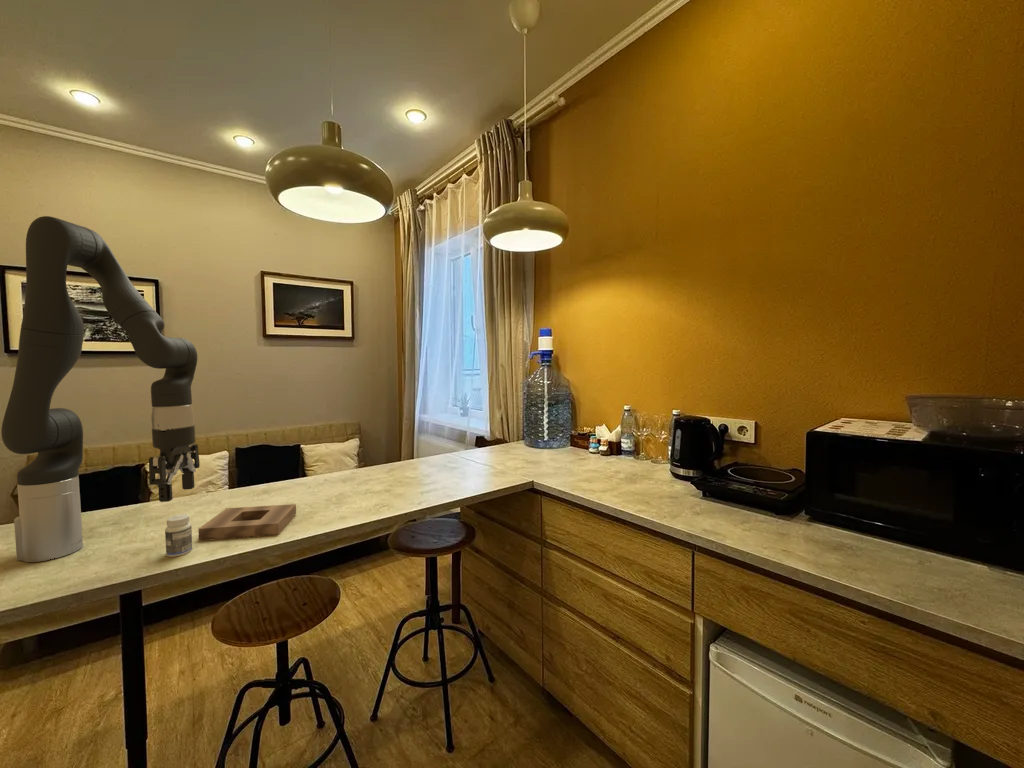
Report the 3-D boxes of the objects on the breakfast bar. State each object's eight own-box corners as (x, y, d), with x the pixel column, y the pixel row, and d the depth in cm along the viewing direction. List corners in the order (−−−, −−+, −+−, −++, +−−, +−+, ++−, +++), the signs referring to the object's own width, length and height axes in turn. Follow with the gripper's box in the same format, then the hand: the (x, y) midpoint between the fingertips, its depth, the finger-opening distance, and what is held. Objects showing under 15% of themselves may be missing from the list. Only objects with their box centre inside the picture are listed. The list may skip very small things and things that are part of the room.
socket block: (198, 540, 100) (198, 528, 100) (226, 518, 113) (226, 508, 113) (278, 534, 103) (278, 523, 103) (296, 514, 117) (295, 504, 117)
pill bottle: (165, 552, 94) (163, 517, 93) (191, 545, 97) (189, 511, 97) (167, 559, 90) (165, 523, 90) (193, 552, 94) (192, 517, 93)
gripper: (174, 421, 98) (178, 486, 99) (131, 431, 84) (136, 507, 85) (208, 419, 100) (212, 484, 101) (173, 429, 86) (177, 504, 87)
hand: (177, 494), depth 93 cm, fingers open, 8 cm apart
